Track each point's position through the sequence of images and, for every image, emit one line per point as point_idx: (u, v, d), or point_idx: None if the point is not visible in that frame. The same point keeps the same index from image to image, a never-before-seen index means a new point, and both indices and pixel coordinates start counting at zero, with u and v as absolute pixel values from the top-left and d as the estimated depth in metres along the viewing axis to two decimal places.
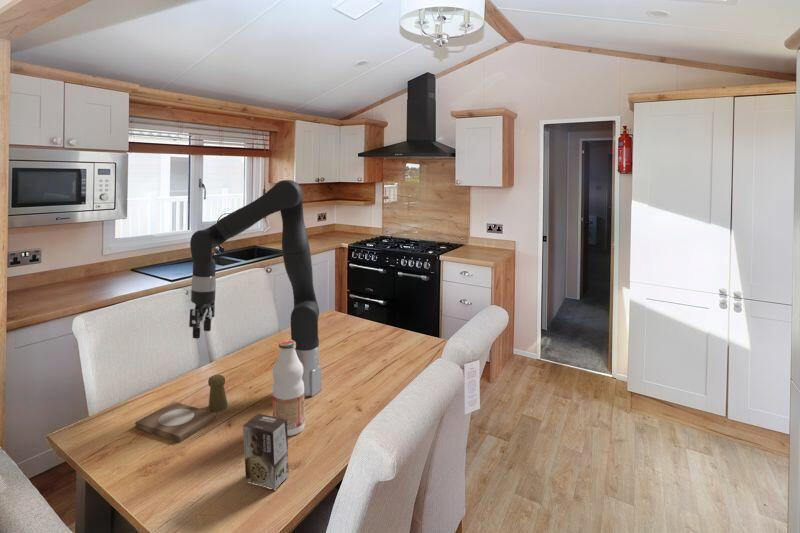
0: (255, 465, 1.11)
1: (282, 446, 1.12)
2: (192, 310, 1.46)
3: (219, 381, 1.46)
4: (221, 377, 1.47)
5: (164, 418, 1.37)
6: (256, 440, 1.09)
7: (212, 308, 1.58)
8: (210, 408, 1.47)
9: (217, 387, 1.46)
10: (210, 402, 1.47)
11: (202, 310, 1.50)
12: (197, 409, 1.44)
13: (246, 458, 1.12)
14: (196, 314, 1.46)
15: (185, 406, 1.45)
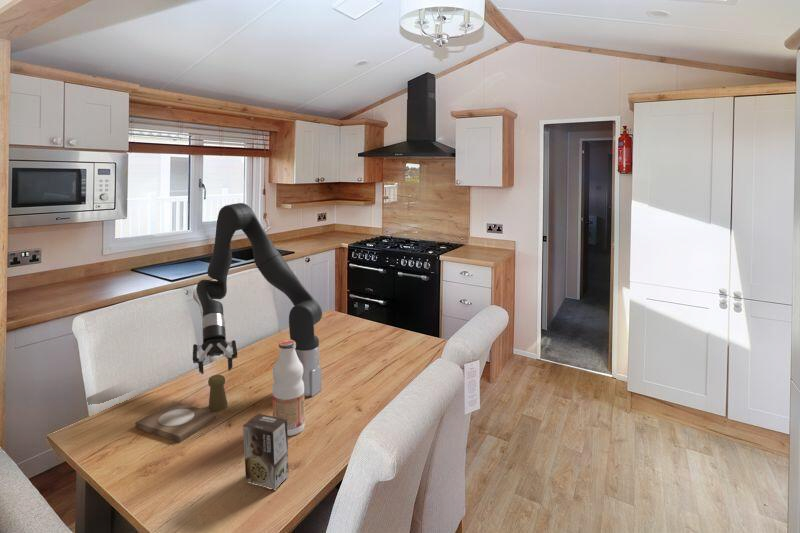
0: (255, 465, 1.11)
1: (282, 446, 1.12)
2: None
3: (219, 381, 1.46)
4: (221, 377, 1.47)
5: (164, 418, 1.37)
6: (256, 440, 1.09)
7: (232, 347, 1.58)
8: (210, 408, 1.47)
9: (217, 387, 1.46)
10: (210, 402, 1.47)
11: (206, 346, 1.55)
12: (197, 409, 1.44)
13: (246, 458, 1.12)
14: (193, 348, 1.53)
15: (185, 406, 1.45)
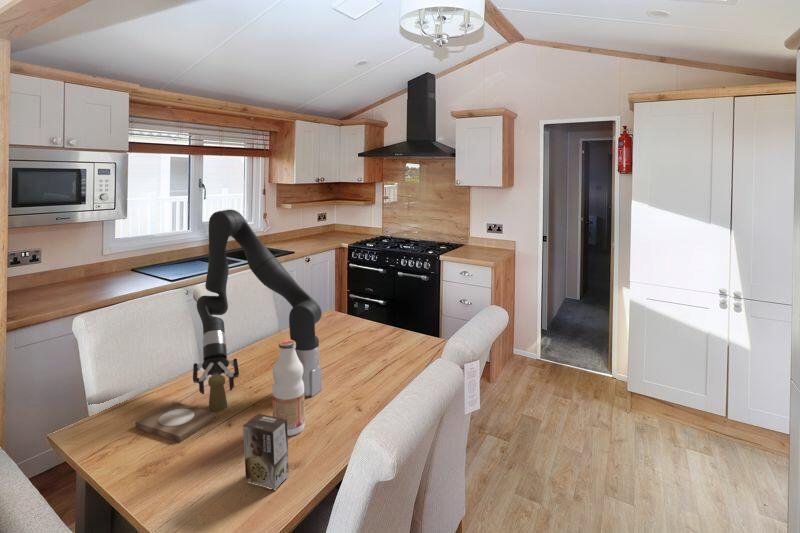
0: (255, 465, 1.11)
1: (282, 446, 1.12)
2: None
3: (219, 381, 1.46)
4: (221, 377, 1.47)
5: (164, 418, 1.37)
6: (256, 440, 1.09)
7: (234, 365, 1.53)
8: (210, 408, 1.47)
9: (217, 387, 1.46)
10: (210, 402, 1.47)
11: (206, 364, 1.50)
12: (197, 409, 1.44)
13: (246, 458, 1.12)
14: None
15: (185, 406, 1.45)
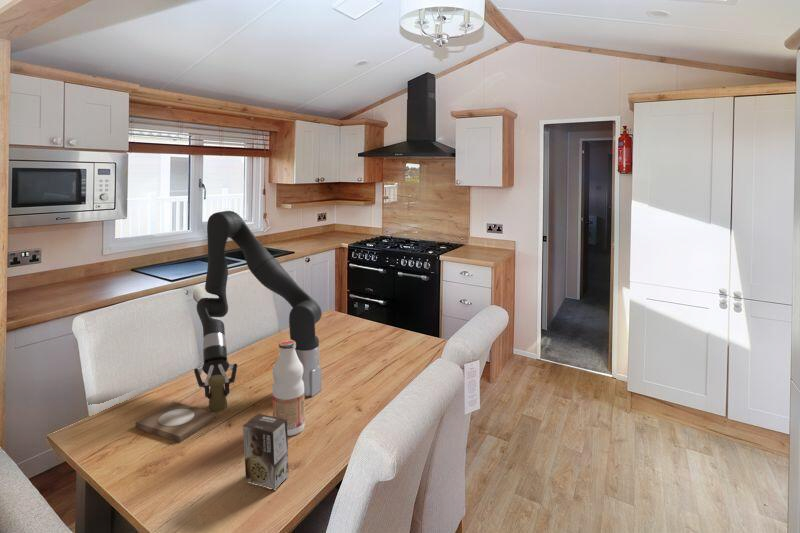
0: (255, 465, 1.11)
1: (282, 446, 1.12)
2: None
3: (219, 381, 1.46)
4: (221, 377, 1.47)
5: (164, 418, 1.37)
6: (256, 440, 1.09)
7: None
8: (210, 408, 1.47)
9: (217, 387, 1.46)
10: (210, 402, 1.47)
11: (206, 368, 1.50)
12: (197, 409, 1.44)
13: (246, 458, 1.12)
14: (195, 373, 1.48)
15: (185, 406, 1.45)
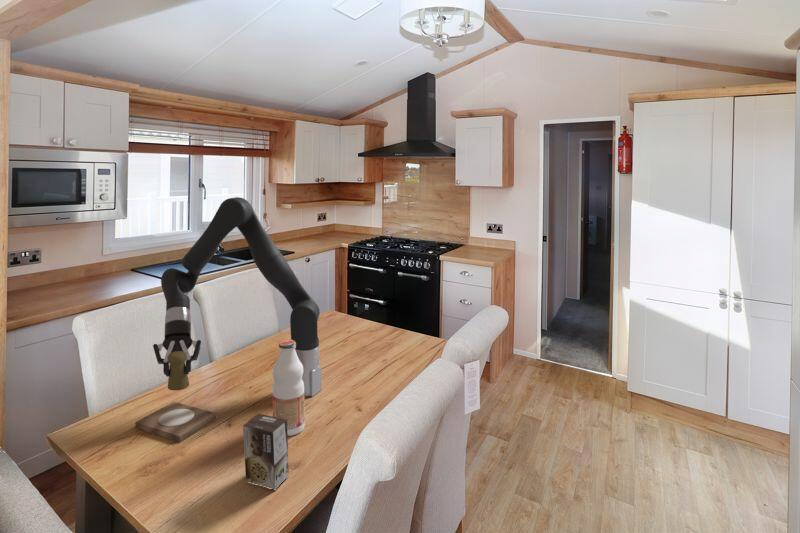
0: (255, 465, 1.11)
1: (282, 446, 1.12)
2: None
3: (179, 358, 1.35)
4: (181, 353, 1.36)
5: (164, 418, 1.37)
6: (256, 440, 1.09)
7: None
8: (169, 386, 1.36)
9: (177, 364, 1.35)
10: (169, 380, 1.36)
11: (167, 344, 1.39)
12: (197, 409, 1.44)
13: (246, 458, 1.12)
14: (154, 349, 1.37)
15: (185, 406, 1.45)
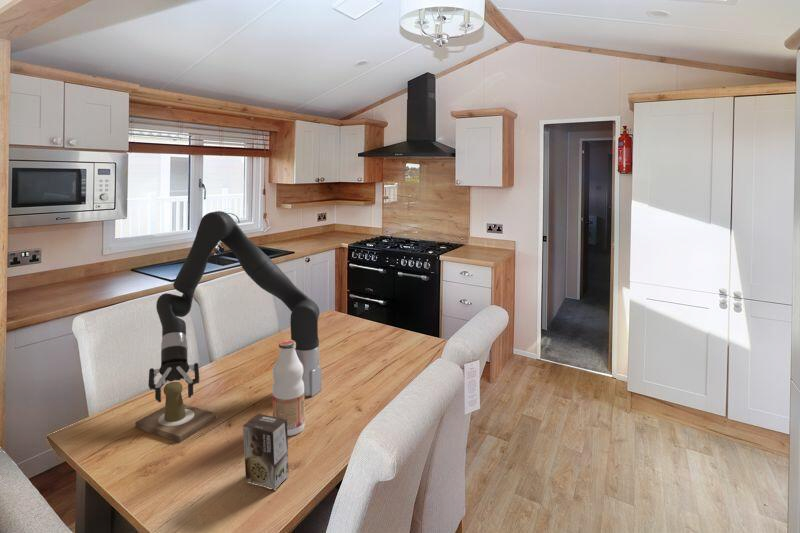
0: (255, 465, 1.11)
1: (282, 446, 1.12)
2: None
3: (175, 389, 1.35)
4: (177, 385, 1.36)
5: None
6: (256, 440, 1.09)
7: (194, 370, 1.41)
8: (166, 418, 1.36)
9: (173, 395, 1.35)
10: (166, 411, 1.36)
11: (164, 370, 1.39)
12: (197, 409, 1.44)
13: (246, 458, 1.12)
14: (149, 373, 1.37)
15: (185, 406, 1.45)
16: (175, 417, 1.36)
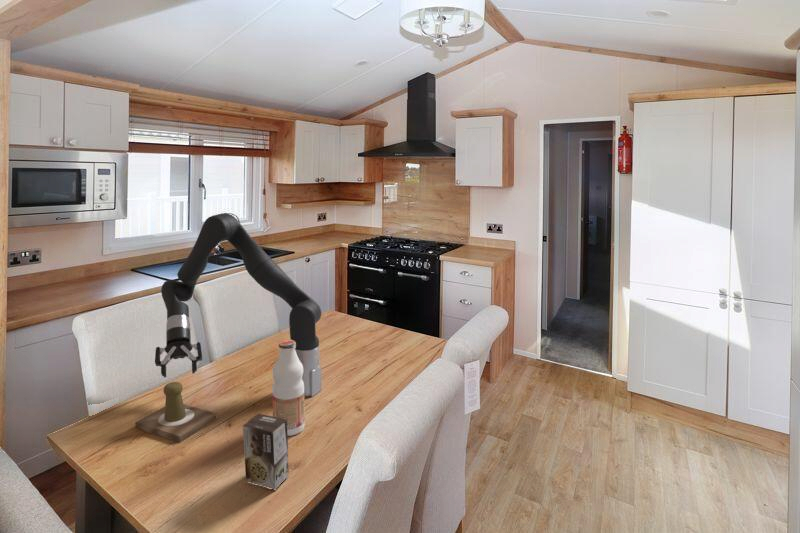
0: (255, 465, 1.11)
1: (282, 446, 1.12)
2: None
3: (175, 389, 1.35)
4: (177, 385, 1.36)
5: None
6: (256, 440, 1.09)
7: (197, 349, 1.54)
8: (166, 418, 1.36)
9: (173, 395, 1.35)
10: (166, 412, 1.36)
11: (169, 348, 1.51)
12: (197, 409, 1.44)
13: (246, 458, 1.12)
14: None
15: (185, 406, 1.45)
16: (175, 417, 1.36)
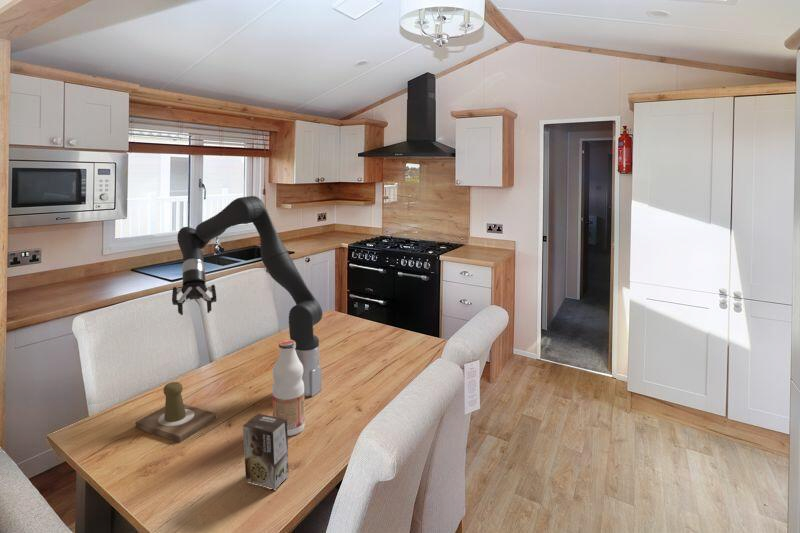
0: (255, 465, 1.11)
1: (282, 446, 1.12)
2: None
3: (175, 389, 1.35)
4: (177, 385, 1.36)
5: None
6: (256, 440, 1.09)
7: (212, 291, 1.61)
8: (166, 418, 1.36)
9: (173, 396, 1.35)
10: (166, 412, 1.36)
11: (185, 289, 1.58)
12: (197, 409, 1.44)
13: (246, 458, 1.12)
14: None
15: (185, 406, 1.45)
16: (175, 417, 1.36)
